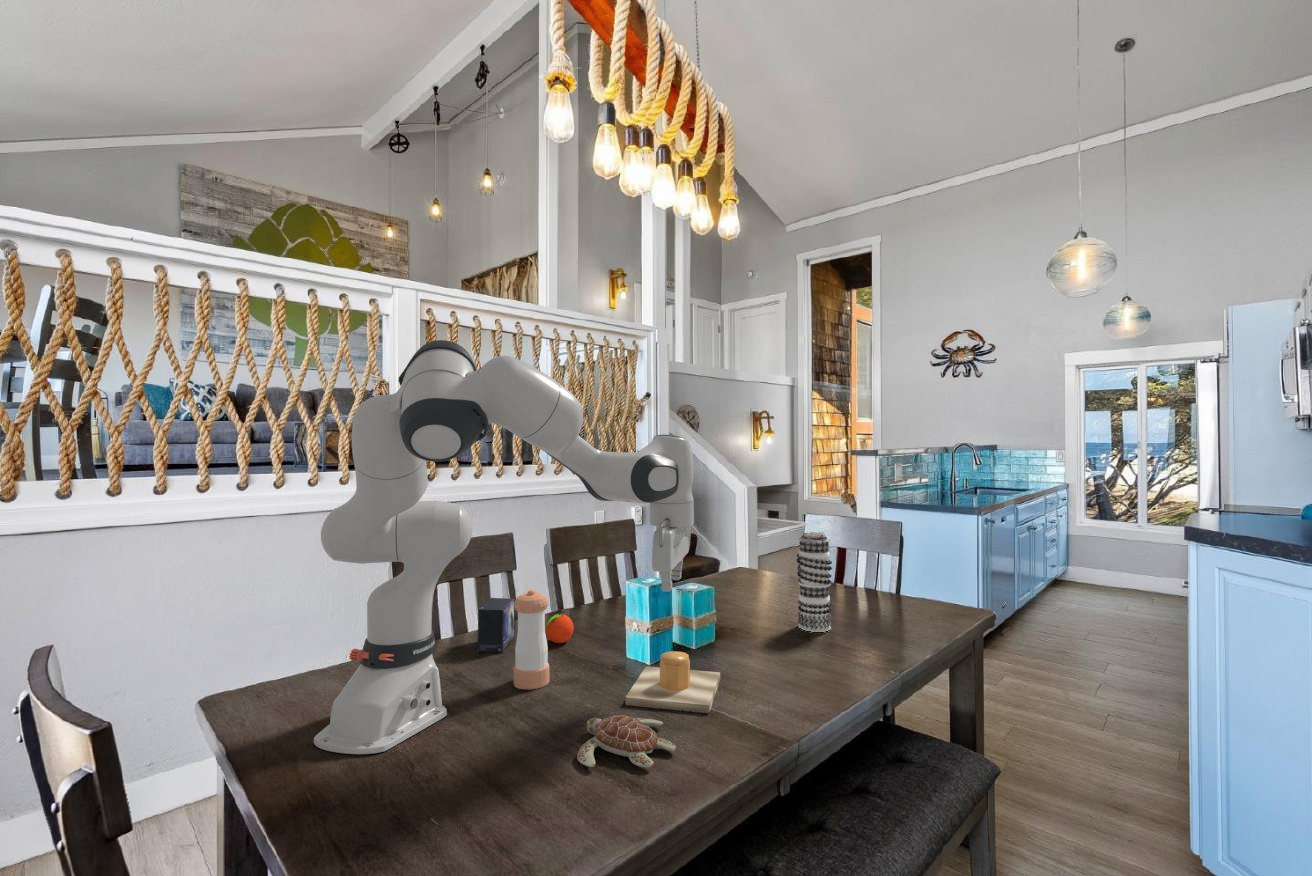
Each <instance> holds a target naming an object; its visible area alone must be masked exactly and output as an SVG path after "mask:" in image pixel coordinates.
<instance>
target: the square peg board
mask: <svg viewBox="0 0 1312 876" xmlns="http://www.w3.org/2000/svg"><path fill="white" fill-rule="evenodd" d="M720 682H721V672H720V671H719V672H717V671H706V670H697V669H695V670H694V669H690V684H689V686H688V688H685V689H682V690H667V689H665V688H663V687H662V686H660V666H659V667H658V666H646V665H645V667H644V668H643V670H642V671H641V673H640V675H639V676H638V678H637V679H636V681H635V682H634V683H633V685H632V686H631V689H630V690H629V691H628V693H627V694H626V695H625V701H624V702H625V706H631V707H643V708H652V709H660V708H661V709H663V710H670V709H671V711H682V710H683V712H690V711H691V713H703V714H710V713H709V712H711V709H712V706H713V703H714V699H715V697H716V693H717V691H718V688H719V685H720Z"/></svg>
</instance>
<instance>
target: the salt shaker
mask: <svg viewBox="0 0 1312 876" xmlns="http://www.w3.org/2000/svg"><path fill="white" fill-rule="evenodd" d="M548 606H549V599H548V598H547V596H546V595H545V594H542V593H539V592H536V591H535V590H534V589H529V590H527V592H526V593H522V594H520V595H518V596H517V597H516V599H514V611H516V612H517V636H516V641H515V649H514V651H515V652H514V653H515V654H514V655H515V664H514V666H513V686H514V687H515V688H517V689H519V690H536V689H540V688H541V689H542V688H543V687H546V686H547V685H548V684H549V683H550V664H549V662H548V651H549V649H548V641H547V637H546V636H547V635H546V630H545V629H546V622H545V620H546V617H545V616H546V614H545V610H547V608H548Z"/></svg>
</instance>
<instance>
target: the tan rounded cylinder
mask: <svg viewBox="0 0 1312 876" xmlns="http://www.w3.org/2000/svg"><path fill="white" fill-rule="evenodd" d="M689 656H690V655H689V654H688V653H686V652H683V651H676V650H675V651H673V650H672V651H665V652H663V653H661V655H660V660H659V667H660V686H662V687H663V688H665V689H667V690H682V689H685V688H688V686H689V684H690V670H691V660H690V657H689Z"/></svg>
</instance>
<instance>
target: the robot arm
mask: <svg viewBox="0 0 1312 876" xmlns="http://www.w3.org/2000/svg"><path fill="white" fill-rule="evenodd" d="M397 380H398V383H399V386H400V387H399V388H398V390H397V391H396V392H395V393H392V394H382V395H381V394H380V395H375V396H372V397H369V398H368V399H366V400H365V401H363V402H362V403H360V404H359V406H358V407H357V408H356V410H355V411H354V414H353V418H352V419H353V420H352V426H351V449H352V459H353V465H354V470H355V479H356V480H355V484H356V485H355V486H356V488H355V489H356V490H355V493H354V494H353V495H352V497H351V498H350V499H349V500H348V501H346V502H345V503H343V504H342V505H340V506H338V507H337V506H336V507H335V508H334V509H333V510H331V511H330V513H329V514H328V515H327V516H326V518H325V519H324V521H323V523H322V525H321V526H322V527H321V531H320V541H321V545H322V547H323V550H324V552H325V553H326V555H327V556H328V557H330V559H332V560H333V561H334V562H335V561H336V562H343V563H351V564H353V563H354V564H360V565H361V564H363V565H365V564H378V563H394V562H395V563H397V562H400V563H403V571H402V572H400V574H398V575H396V576H395V577H393V578H391V579H389V580H387V581H384V582H383V583H382V584H380V585H378V586H377V587H376V588H374V589H373V591H371V592H370V594H369V596H368V599H367V601H366V630H367V632H366V635H367V636H366V638H365V640H364V642H363V643H364V644H363V646H362V649H358V648H353V649H351V651H350V653H349V656H348V657H349V660H350V661H351V662H355V661H356V662H357V661H358V662H359V663H360V664H359V666H358V668H356V670H355V671H354V672H353V674H352V676H351V677H350V678H349V680H348V682H347V683H346V684H345V686H344V687H343V688H342V689H341V691H340V692H339V694H338V696H336V698H335V699H334V701H333V702H332V706H331V711H330V722H329V724H328V725H327V726H325V727H324V728H323V729H322V730H321V731H319V732H318V733H317V734H316V735H315V736H314V738H313V744H314V745H315V746H316V748H319V749H321V750H324V751H327V752H333V753H339V754H348V755H349V754H350V755H369V754H370V755H371V754H377V753H382V752H386V751H388V750H390V749H392V748H394V747H395V746H397V745H399V744H401V743H402V742H403V741H405V740H407V739H409V738H410V737H412V736H414V735H416V734H417V733H419V732H421V731H422V730H424V729H426V728H428V727H430V726H432V725H433V724H434V723H437V722H438V721H441V720H442V719H444V718H445V717H447V715H448V711H447V708H446V706H445V705H443V702H442V701H443V700H442V691H441V679H440V673H439V668H438V666H437V664H436V662H435V660H434V656H433V653H434V652H435V643H436V641H435V639H436V638H435V632H434V631H433V629H432V628H433V627H432V625H433V624H432V622H433V620H432V617H433V614H432V613H433V603H434V602H433V601H434V594H435V589H436V585H437V583H438V580H439V579H440V577H441V575H442V573H443V572H444V570H445V569H446V568H447V566H448V565H449V564H450V563H451V562H452V561H453V560H454V559H455V558H457V556H459V555H460V554H462V553H463V552H464V551H465V549H466V548H467V547H468V545H469V543H470V542H471V539H472V536H473V535H472V534H473V524H472V519H471V516H470V513H469V512H468V511H467V509H466V508H465V507H464V506H463V505H462V504H460V503H454V502H449V501H441V500H421V498H423V495H424V494H425V492H426V491H427V488H428V483H429V480H428V478H429V477H428V465H427V462H433V463H435V462H437V463H439V462H446V461H451V460H453V459H456V458H458V457H460V456H462V455H463V454H464V453H466V452H467V451H469V449H471V447H472V446H473V445H474V444H475V443H477V442H479V441H480V440H483V439H484V438H485V437H486V436H487V434H488V432H489V425H490V424H493V425H494V424H495V425H498V426H500V427H502V428H504V429H506V430H507V431H509V432H511V433H512V434H513V435H515V436H516V437H518V438H520V439H521V440H523V441H524V442H525V443H528V444H529V445H531V446H533V447H535V448H537V449H539V450H541V451H542V452H543V453H545V454H547V455H548V456H549V457H551V458H552V459H553V460H554V461H556V462H557V463H559V464H561V466H563V467H565V468H566V469H568V470H569V471H570V472H572V473H573V474H574V475H575V476H577V478H578V479H579V480H580V481H581V482H582V484H583V486H584V487H585V489H586V490H587V491H588V493H589V494H590V495H591V496H592V497H593V498H595V499H596V500H599V501H602V502H616V501H617V502H625V503H633V504H635V503H636V504H649V525H650V526H653V527H655V530H654V532H653V536H652V547H651V548H652V550H651V554H652V555H651V556H652V557H651V566H652V570H653V572H659V576H660V577H659V578H660V581H661V591H662V592H664V593H665V592H666V593H668V592H671V591H672V589H673V581H680V580H681V579H682V571H683V563H684V558H685V557H686V555H687V554H688V553H689V551H690V546H691V534H692V526H693V525H694V524H695V511H694V509H695V507H694V506H695V505H694V501H695V500H694V495H693V491H692V490H693V489H692V488H693V483H694V458H693V450H692V447H691V443H690V441H689V440H688V439H687V438H685V437H683V436H678V435H672V434H657V435H654V436H653V437H652V439H651V441H650V443H648V444H647V445H646V446H644V447H642V448H641V449H639V450H636V452H626V451H625V452H622V451H621V452H619V451H612V450H611V451H609V450H599V449H597V448H595V447H594V446H593V445H591V444H590V443H589V442H588V441H586V440H585V439H584V438H583V437H581V436H580V435H579V434H580V433H581V431H582V430H581V429H582V427H583V422H584V410H583V405H582V404H581V402H580V401H579V400H578V398H576V396H575V395H574V394H573V393H572V392H571V391H569V390H568V389H567V388H566V387H564V386H563V385H562V384H561V383H559V382H558V381H557V380H555V379H553V378H552V377H551V376H549V375H548V374H546V373H545V372H543V371H541V370H540V369H537V368H536V367H534V366H532V365H530V364H528V363H527V362H525V361H523V360H520V359H517V358H515V357H513V356H510V355H499V356H495V357H493V358H491V359H490V360H488V361H486V363H484V364H483V365H482V366H481V367H480V369H477V368H476V365H475V362H474V359H473V358H472V356H471V355H470V353H469V352H468V351H467V350H466V349H465V348H464V347H463V346H462V345H461V344H458V343H457V342H454V341H450V340H446V339H445V340H443V339H437V340H433V341H429V342H427V343H425V344H423V345H422V346H420V347H419V349H418V350H416V352H415V353H414V354H413V355H412V357H411V359H410V360H409V362H408V363H407V365H406V367H405V368H404V369H403V371H402V372H401V374H400V375H399V376H398V379H397ZM420 500H421V501H420Z"/></svg>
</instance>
